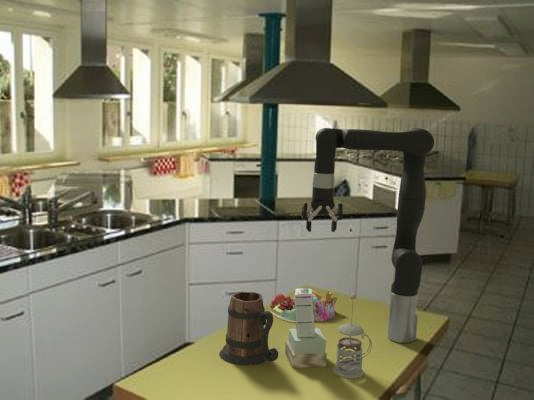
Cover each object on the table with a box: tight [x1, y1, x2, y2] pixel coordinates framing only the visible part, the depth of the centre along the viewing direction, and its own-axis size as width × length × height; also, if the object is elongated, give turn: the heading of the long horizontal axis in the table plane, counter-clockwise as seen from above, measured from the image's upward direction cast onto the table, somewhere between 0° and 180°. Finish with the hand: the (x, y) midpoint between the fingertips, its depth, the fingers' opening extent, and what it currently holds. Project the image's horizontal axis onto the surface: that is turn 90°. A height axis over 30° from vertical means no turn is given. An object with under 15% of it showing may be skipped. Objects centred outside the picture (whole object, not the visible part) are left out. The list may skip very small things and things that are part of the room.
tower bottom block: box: [284, 340, 328, 369], centre depth 188 cm, size 11×11×4 cm
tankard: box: [218, 291, 279, 367], centre depth 187 cm, size 24×17×20 cm
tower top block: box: [287, 327, 327, 354], centre depth 187 cm, size 10×10×4 cm
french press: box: [332, 293, 373, 379], centre depth 179 cm, size 10×12×25 cm
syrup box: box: [293, 287, 316, 337], centre depth 185 cm, size 6×6×14 cm
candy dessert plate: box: [269, 289, 338, 324], centre depth 230 cm, size 25×24×9 cm
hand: (321, 231), depth 204 cm, fingers open, 8 cm apart
